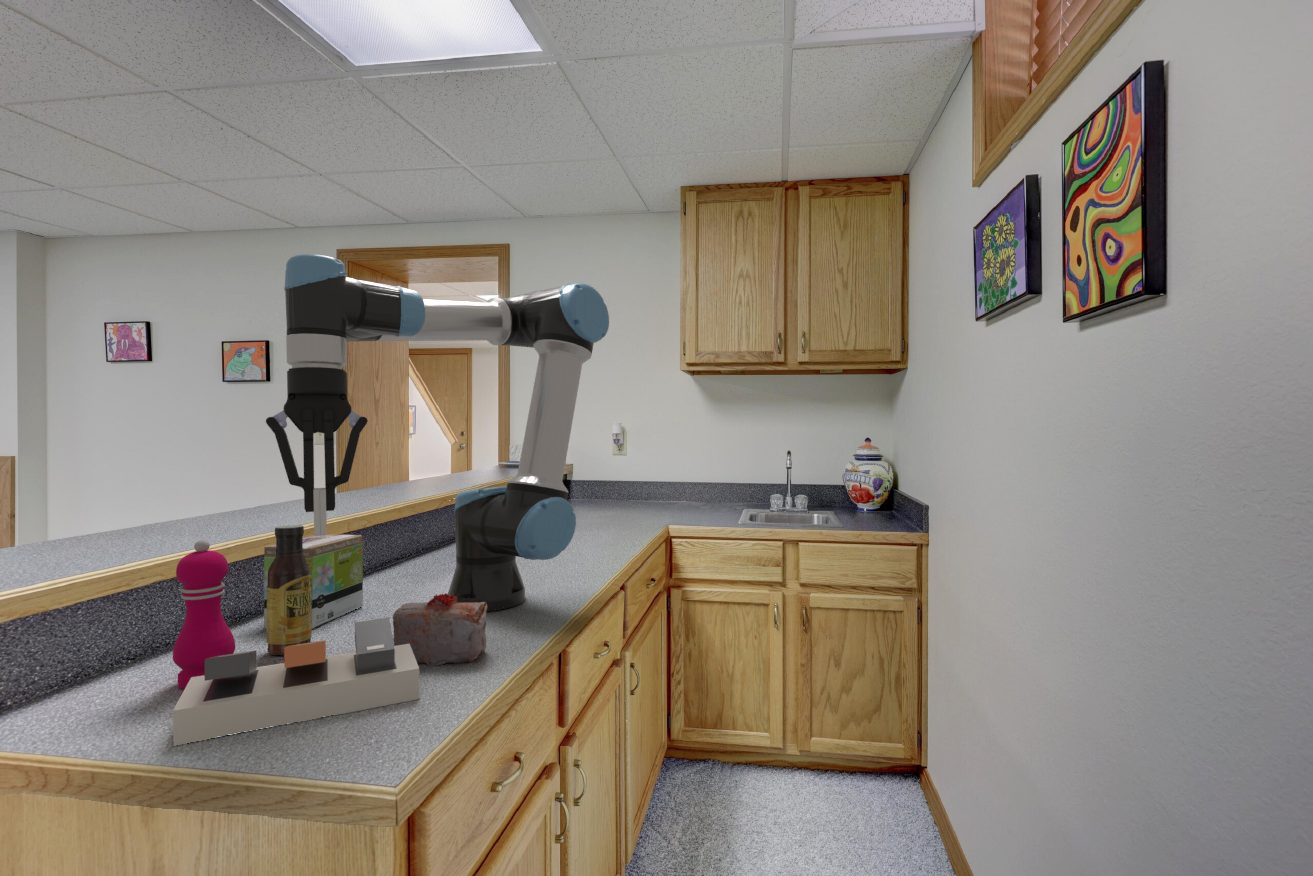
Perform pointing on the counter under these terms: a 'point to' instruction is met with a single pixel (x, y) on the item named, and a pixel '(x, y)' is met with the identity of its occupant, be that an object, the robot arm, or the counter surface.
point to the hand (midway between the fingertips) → (320, 534)
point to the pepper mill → (201, 612)
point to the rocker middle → (305, 654)
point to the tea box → (328, 575)
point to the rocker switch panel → (291, 695)
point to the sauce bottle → (288, 592)
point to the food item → (442, 629)
